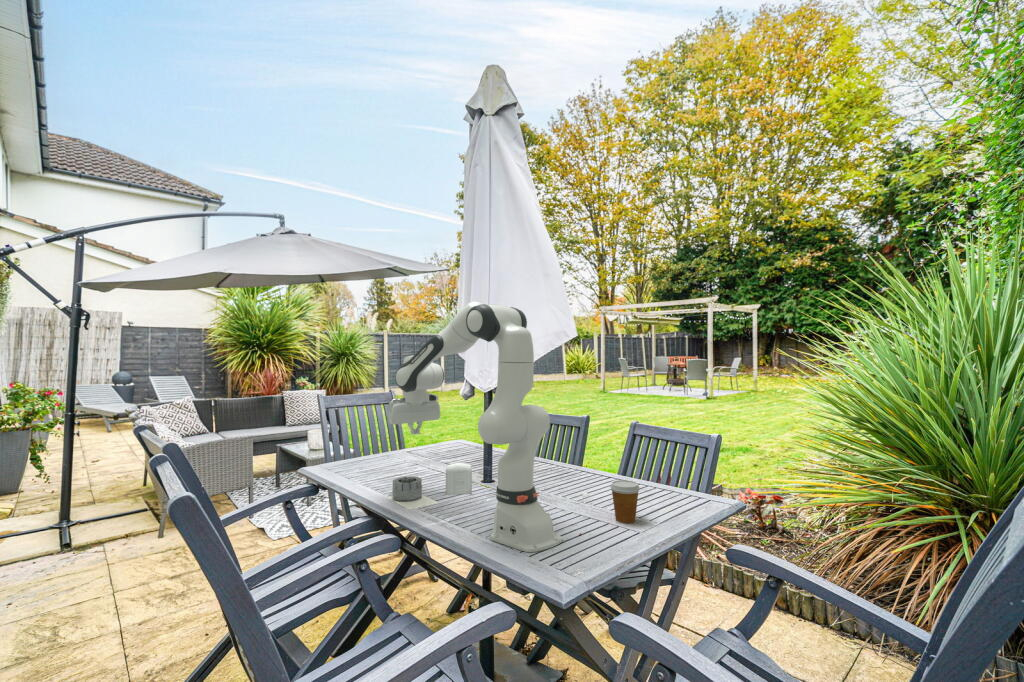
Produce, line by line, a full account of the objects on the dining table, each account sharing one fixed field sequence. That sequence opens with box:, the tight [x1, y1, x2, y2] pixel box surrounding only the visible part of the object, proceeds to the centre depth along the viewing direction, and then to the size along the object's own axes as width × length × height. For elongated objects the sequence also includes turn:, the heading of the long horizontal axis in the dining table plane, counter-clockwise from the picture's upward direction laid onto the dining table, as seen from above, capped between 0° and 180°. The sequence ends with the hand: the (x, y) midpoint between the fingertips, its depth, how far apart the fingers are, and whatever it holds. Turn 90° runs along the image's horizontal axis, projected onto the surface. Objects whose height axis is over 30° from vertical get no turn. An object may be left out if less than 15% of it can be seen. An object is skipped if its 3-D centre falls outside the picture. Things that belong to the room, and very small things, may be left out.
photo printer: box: [445, 462, 473, 496], centre depth 190 cm, size 10×4×12 cm, turn 98°
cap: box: [400, 476, 414, 483], centre depth 184 cm, size 5×5×4 cm
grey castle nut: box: [391, 475, 423, 502], centre depth 184 cm, size 11×11×6 cm
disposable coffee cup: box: [609, 479, 641, 524], centre depth 160 cm, size 10×10×12 cm
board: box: [386, 494, 439, 511], centre depth 181 cm, size 19×12×1 cm, turn 38°
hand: (415, 434), depth 183 cm, fingers closed
